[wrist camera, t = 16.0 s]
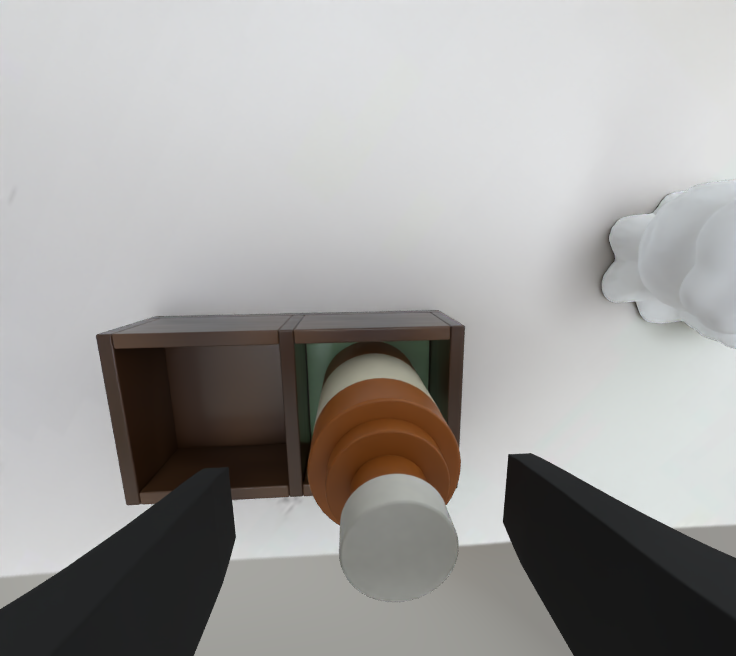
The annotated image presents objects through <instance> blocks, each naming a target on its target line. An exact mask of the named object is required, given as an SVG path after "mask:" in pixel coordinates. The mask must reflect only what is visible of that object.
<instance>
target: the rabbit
mask: <svg viewBox="0 0 736 656" xmlns="http://www.w3.org/2000/svg"><path fill="white" fill-rule="evenodd" d="M609 241H610V245H611V247H612V249H613V252H614V254H615V261H614V263H613V264H612V265H611V266H610V267H609V269H608V270H607V271H606V273H605V274H604V276H603V281H602V291H603V294H604V295H605V297H606V298H607V299H608V300H610V301H611V302H615V303H623V302H634V301H635V302H636V304H637V307H638V310H639V313H640V315H641V316H642V318H643V319H644V320H646V321H648V322H653V323H670V322H677V321H684V322H685V323H686V324H687V325H688V326H690V327H691V328H693V329H695V330H696V331H697V332H698V333H699V334H701V335H702V336H704V337H706V338H709V339H713V340H715V341H718V342H721V343H722V344H724V345H725V346H727V347H730V348H733V349H736V179H732V180H725V181H716V182H710V183H703V184H698V185H695V186H693V187H691V188H689V189H688V190H687V191H678V192H673V193H671V194H669V195H667V196H666V197H665V198H664V199H663V200H662V202H661V203H660V205H659V206H658V208H657V209H656V210H655V211H654V212H653V213H651V214H639V215H632V216H627V217H623V218H621V219H619V220H618V221H617V222H616V224H615V225H614V226H613V227H612V229H611V233H610V235H609Z"/></svg>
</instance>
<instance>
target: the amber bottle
mask: <svg viewBox="0 0 736 656" xmlns="http://www.w3.org/2000/svg"><path fill="white" fill-rule="evenodd" d="M460 467H461V459H460V451H459V447H458V443H457V441H456V439H455V436H454V434H453V433H452V431H451V429H450V428H449V426H448V424H447V423H446V421H445V419H444V418H443V416H442V414H441V413H440V410H439V409H438V407H437V405H436V404H435V402H434V400H433V399H432V397H431V395H430V394H429V392H428V390H427V389H426V387H425V385H424V384H423V382H422V380H421V379H420V377H419V375H418V374H417V373H416V371H415V369H414V368H413V366H412V364H411V363H410V361H409V359H408V358H407V357H406V356H405V355H404V354H403V353H402V352H401V351H400V350H398V349H397V348H395V347H393V346H392V345H389V344H387V343H383V342H359V343H355V344H353V345H350V346H348V347H346V348H345V349H343V350H342V351H341V352H339V353H338V354H337V355H336V356H335V357H334V358H333V360H332V361H331V362H330V364H329V366H328V368H327V370H326V373H325V376H324V381H323V386H322V391H321V395H320V400H319V405H318V410H317V415H316V420H315V426H314V431H313V437H312V442H311V447H310V453H309V458H308V467H307V473H308V481H309V486H310V489H311V492H312V495H313V497H314V499H315V500H316V502H317V504H318V506H319V507H320V508H321V510H322V511H323V512H324V513H325V514H326V515H327V516H328V517H329V518H330V519H331V520H333V521H334V522H335V523H337V524H338V525H340V542H339V559H340V564H341V567H342V570H343V572H344V574H345V576H346V578H347V580H348V581H349V582H350V583H351V584H352V586H353V587H354V588H356V589H357V590H358V591H359V592H361V593H362V594H364V595H366V596H368V597H371V598H373V599H377V600H380V601H386V602H404V601H409V600H413V599H417V598H420V597H422V596H424V595H426V594H428V593H430V592H432V591H433V590H435V589H436V588H437V587H439V586H440V585H441V584H442V583H443V582H444V581H445V580H446V579H447V577H448V576H449V575H450V573H451V572H452V570H453V568H454V566H455V563H456V560H457V556H458V545H459V544H458V537H457V533H456V530H455V528H454V525H453V523H452V520H451V518H450V515H449V513H448V510H447V507H446V505H447V503H448V502H449V500H450V499H451V497H452V495H453V493H454V491H455V489H456V486H457V483H458V480H459V475H460Z"/></svg>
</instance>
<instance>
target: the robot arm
mask: <svg viewBox="0 0 736 656" xmlns="http://www.w3.org/2000/svg"><path fill="white" fill-rule="evenodd" d="M503 523H504V526H505V528H506V530H507V533H508V535H509V538H510V540H511V542H512V545H513V547H514V549H515V551H516V554H517V556H518V558H519V560H520V563H521V564H522V566H523V568H524V570H525V572H526V573H527V575H528V577H529V579H530V581H531V582H532V584H533V586H534V587H535V589H536V591H537V593H538V595H539V596H540V598H541V600H542V601H543V603H544V605H545V607H546V608H547V610H548V612H549V614H550V615H551V617H552V619H553V621H554V622H555V624H556V626H557V628H558V629H559V631H560V633H561V634H562V636H563V638H564V640H565V641H566V643H567V644H568V647H569V648H570V650H571V652H572V653H573V655H574V656H736V558H734V557H732V556H730V555H728V554H725V553H723V552H721V551H718V550H716V549H714V548H712V547H710V546H708V545H705V544H703V543H701V542H699V541H697V540H695V539H693V538H691V537H688V536H687V535H684V534H682V533H681V532H679V531H677V530H675V529H673V528H671V527H669V526H667V525H665V524H663V523H661V522H659V521H657V520H655V519H653V518H651V517H649V516H647V515H645V514H643V513H641V512H639V511H637V510H635V509H634V508H632V507H630V506H628V505H626V504H624V503H622V502H620V501H619V500H617V499H615V498H613V497H611V496H609V495H608V494H606V493H604V492H602V491H600V490H599V489H597V488H595V487H593V486H591V485H590V484H588V483H586V482H584V481H582V480H581V479H579V478H577V477H575V476H574V475H572V474H570V473H568V472H566V471H565V470H563V469H561V468H559V467H557V466H555V465H554V464H552V463H550V462H548V461H546V460H544V459H542V458H540V457H538V456H536V455H534V454H531V453H529V454H508V466H507V479H506V491H505V503H504V515H503ZM235 538H236V534H235V525H234V515H233V506H232V496H231V487H230V477H229V468H228V467H222V468H203V469H202V470H200V471H199V472H197V473H196V474H194V475H193V476H192V477H190V478H189V479H188V480H186V481H185V482H183V483H182V484H181V485H179V486H178V487H177V488H175V489H174V490H173V491H172V492H170V493H169V494H168V495H166V496H165V497H164V498H162V499H161V500H160V501H158V502H157V503H156V504H154V505H153V506H152V507H150V508H149V509H148V510H146V511H145V512H144V513H142V514H141V515H140V516H138V517H137V518H136V519H134V520H133V521H132V522H130V523H129V524H127V525H126V526H125V527H123V528H122V529H121V530H119V531H118V532H116V533H115V534H113V535H112V536H111V537H109V538H108V539H106V540H105V541H103V542H102V543H101V544H99V545H98V546H96V547H95V548H93V549H92V550H91V551H89V552H88V553H86V554H85V555H83V556H82V557H81V558H79V559H78V560H76V561H75V562H73V563H72V564H70V565H69V566H68V567H66V568H65V569H63V570H62V571H60V572H59V573H57V574H56V575H54V576H52V577H51V578H49V579H48V580H46V581H45V582H43V583H42V584H40V585H39V586H37V587H36V588H34V589H32V590H31V591H29V592H28V593H26V594H24V595H23V596H21V597H20V598H18V599H16V600H15V601H13V602H11V603H10V604H8V605H6V606H5V607H3V608H2V609H0V656H194V654H195V651H196V649H197V646H198V644H199V641H200V639H201V636H202V634H203V631H204V629H205V626H206V624H207V622H208V619H209V617H210V614H211V612H212V609H213V607H214V604H215V602H216V599H217V597H218V594H219V591H220V589H221V586H222V584H223V581H224V577H225V574H226V571H227V567H228V564H229V560H230V557H231V553H232V549H233V546H234V542H235Z"/></svg>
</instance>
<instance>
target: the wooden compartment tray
mask: <svg viewBox="0 0 736 656" xmlns="http://www.w3.org/2000/svg"><path fill="white" fill-rule="evenodd" d="M464 335H465V326H464V325H462V324H461V323H459V322H457V321H455V320H454V319H452V318H450V317H449V316H447V315H445V314H444V313H442V312H440V311H438V310H434V311H388V312H342V313H296V314H250V315H204V316H158V317H152V318H149V319H146V320H142V321H139V322H136V323H133V324H129V325H126V326H123V327H120V328H116V329H113V330H110V331H107V332H103V333H100V334H97V335H96V339H97V344H98V350H99V355H100V361H101V366H102V372H103V377H104V383H105V388H106V394H107V399H108V405H109V411H110V416H111V422H112V427H113V433H114V438H115V444H116V449H117V455H118V460H119V466H120V472H121V477H122V483H123V488H124V494H125V499H126V504H127V505H139V504H156V503H157V502H158V501H160V500H161V499H162V498H164V497H165V496H166V495H168V494H169V493H170V492H172V491H173V490H174V489H175V488H177V487H178V486H179V485H181V484H182V483H183V482H185V481H186V480H188V479H189V478H190V477H192V476H193V475H194V474H196V473H197V472H199V471H200V470H202V469H203V468H222V467H228V468H229V477H230V487H231V496H232V500H237V499H257V498H277V497H289V495H290V497H296V496H303V495H304V496H313V495H312V492H311V489H310V486H309V481H308V473H307V467H308V458H309V453H310V447H311V442H312V437H313V431H314V426H315V420H316V415H317V410H318V405H319V400H320V395H321V391H322V386H323V381H324V376H325V373H326V370H327V368H328V366H329V364H330V362H331V361H332V360H333V358H334V357H335V356H336V355H337V354H338V353H339V352H341V351H342V350H343V349H345V348H346V347H348V346H350V345H353V344H355V343H359V342H383V343H387V344H389V345H392V346H393V347H395V348H397V349H398V350H400V351H401V352H402V353H403V354H404V355H405V356H406V357H407V358H408V359H409V361H410V363H411V364H412V366H413V368H414V369H415V371H416V373H417V374H418V375H419V377H420V379H421V380H422V382H423V384H424V385H425V387H426V389H427V390H428V392H429V394H430V395H431V397H432V399H433V400H434V402H435V404H436V405H437V407H438V409H439V410H440V413H441V414H442V416H443V418H444V419H445V421H446V423H447V424H448V426H449V428H450V429H451V431H452V433H453V434H454V436H455V439H456V441H457V443H458V447H459V442H460V421H461V399H462V378H463V356H464ZM457 485H458V483H457ZM456 488H457V486H456Z"/></svg>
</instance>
